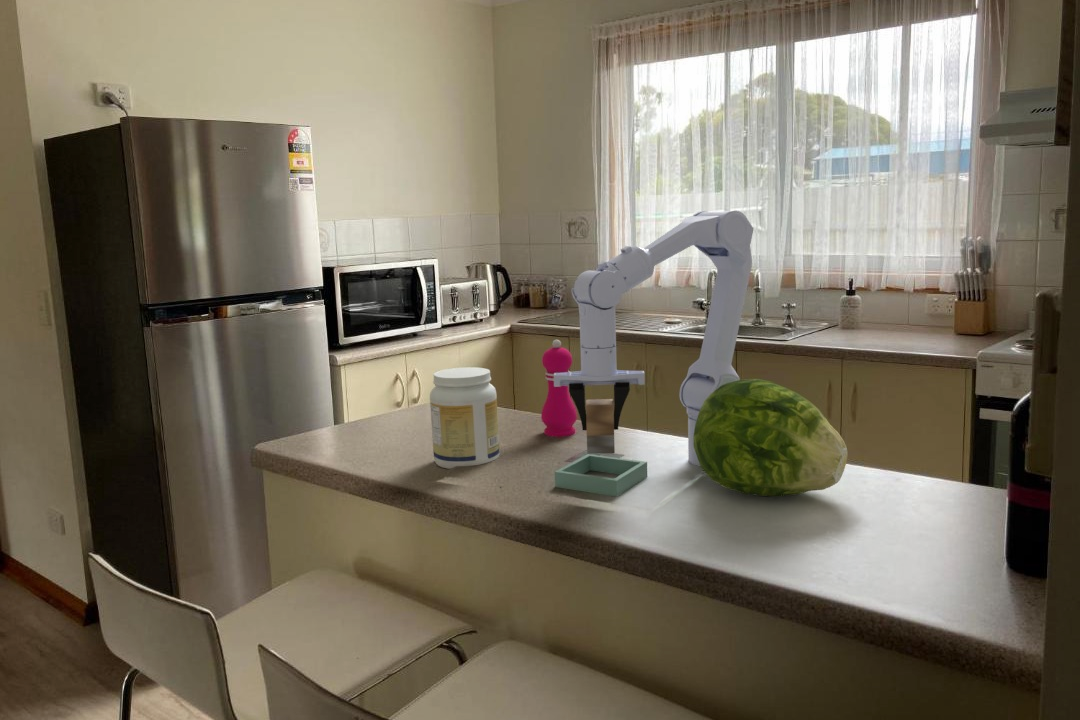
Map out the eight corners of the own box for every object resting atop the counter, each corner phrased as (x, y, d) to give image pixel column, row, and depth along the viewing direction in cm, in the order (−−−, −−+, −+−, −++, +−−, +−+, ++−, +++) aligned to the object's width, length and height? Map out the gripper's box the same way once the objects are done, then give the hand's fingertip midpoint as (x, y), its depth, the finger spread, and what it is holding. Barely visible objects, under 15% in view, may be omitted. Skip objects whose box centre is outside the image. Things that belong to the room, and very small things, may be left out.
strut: (614, 446, 142) (613, 398, 141) (614, 453, 138) (613, 404, 137) (587, 446, 143) (586, 399, 141) (587, 453, 138) (585, 405, 137)
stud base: (624, 460, 156) (624, 443, 155) (604, 472, 149) (603, 454, 149) (586, 455, 160) (585, 438, 159) (564, 466, 153) (564, 449, 153)
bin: (647, 482, 143) (647, 461, 142) (617, 502, 133) (616, 480, 133) (588, 473, 149) (587, 454, 148) (555, 492, 139) (554, 471, 139)
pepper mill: (574, 442, 169) (571, 342, 166) (538, 441, 171) (535, 342, 167) (580, 433, 176) (577, 336, 173) (545, 432, 178) (542, 337, 174)
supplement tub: (480, 449, 167) (475, 363, 164) (512, 463, 157) (508, 371, 154) (422, 460, 160) (417, 371, 158) (452, 475, 150) (446, 381, 147)
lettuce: (813, 531, 120) (846, 405, 118) (664, 479, 132) (691, 365, 130) (845, 514, 136) (873, 403, 134) (708, 470, 148) (733, 368, 146)
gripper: (642, 340, 140) (643, 421, 143) (554, 343, 142) (556, 423, 144) (644, 347, 134) (646, 432, 136) (552, 350, 135) (554, 434, 137)
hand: (600, 428), depth 139 cm, fingers closed on strut, 4 cm apart
